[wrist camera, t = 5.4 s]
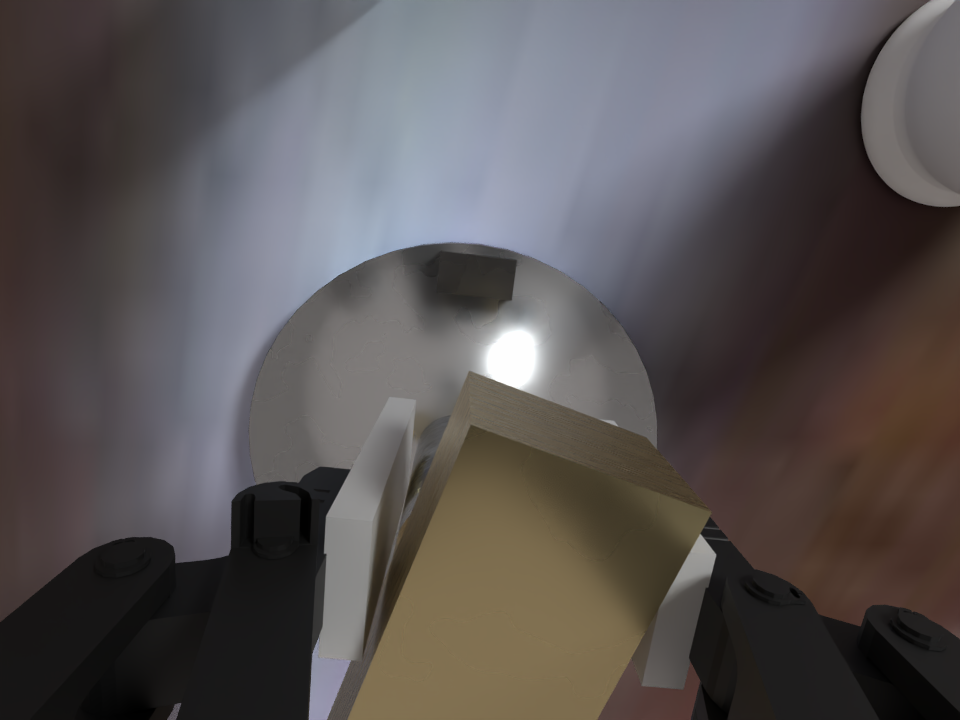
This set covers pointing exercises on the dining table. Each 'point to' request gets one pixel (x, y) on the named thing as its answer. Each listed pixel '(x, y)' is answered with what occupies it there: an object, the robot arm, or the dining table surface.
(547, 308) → the post base
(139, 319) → the dining table surface
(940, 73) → the jar
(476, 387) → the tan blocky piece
